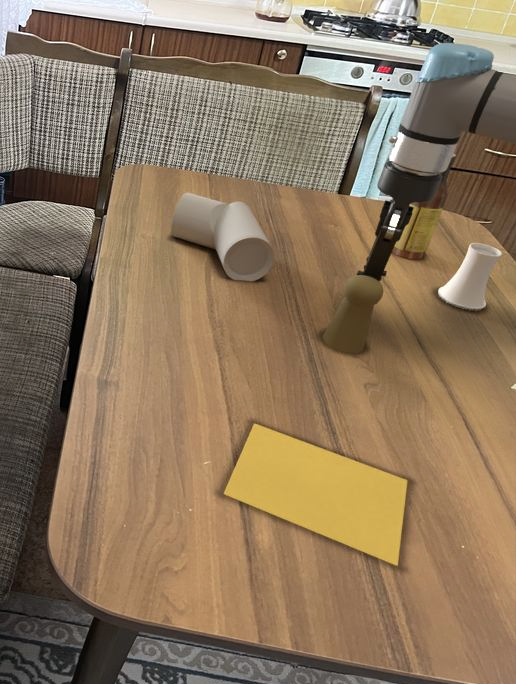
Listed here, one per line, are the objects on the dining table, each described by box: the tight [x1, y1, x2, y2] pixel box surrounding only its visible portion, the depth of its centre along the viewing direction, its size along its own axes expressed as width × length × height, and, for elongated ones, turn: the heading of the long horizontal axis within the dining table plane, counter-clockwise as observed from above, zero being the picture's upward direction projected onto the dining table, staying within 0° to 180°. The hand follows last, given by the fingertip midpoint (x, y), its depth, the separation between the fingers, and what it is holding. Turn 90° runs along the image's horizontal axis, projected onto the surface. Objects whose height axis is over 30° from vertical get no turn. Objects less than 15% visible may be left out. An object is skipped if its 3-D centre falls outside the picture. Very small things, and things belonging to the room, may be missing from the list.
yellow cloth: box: [223, 422, 408, 567], centre depth 77 cm, size 18×14×1 cm
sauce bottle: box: [392, 152, 457, 261], centre depth 127 cm, size 6×6×20 cm
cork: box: [322, 274, 385, 354], centre depth 100 cm, size 6×6×11 cm
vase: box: [437, 242, 503, 312], centre depth 115 cm, size 8×8×10 cm
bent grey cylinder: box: [170, 192, 275, 282], centre depth 121 cm, size 18×10×20 cm
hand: (356, 312), depth 107 cm, fingers closed
